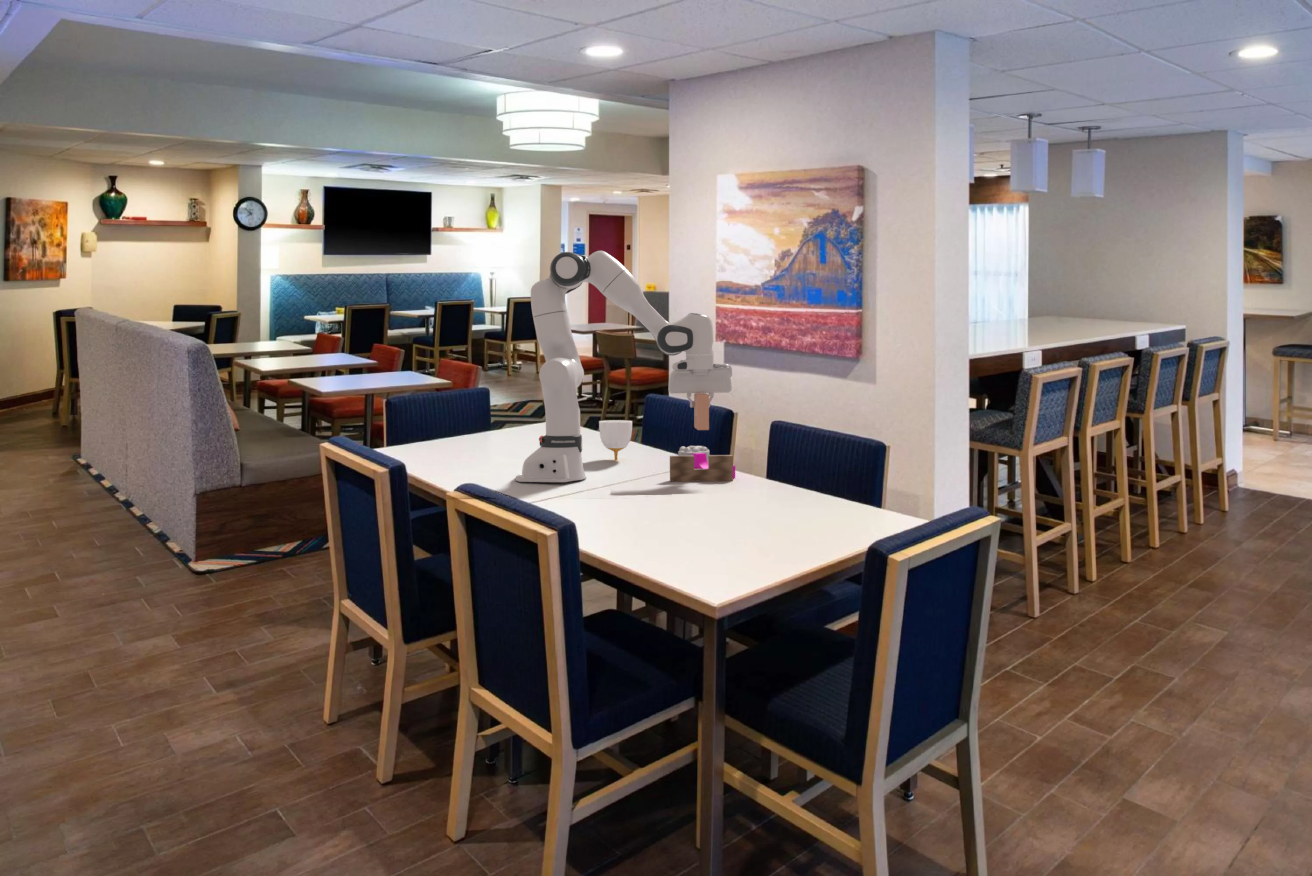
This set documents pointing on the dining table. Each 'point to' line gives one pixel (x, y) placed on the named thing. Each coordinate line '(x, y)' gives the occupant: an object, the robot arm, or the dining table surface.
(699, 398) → the tan notched block
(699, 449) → the lumpy-topped squat cylinder
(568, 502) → the dining table surface
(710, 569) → the dining table surface
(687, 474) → the walnut rail
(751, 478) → the dining table surface
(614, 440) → the cup
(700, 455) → the toy block
